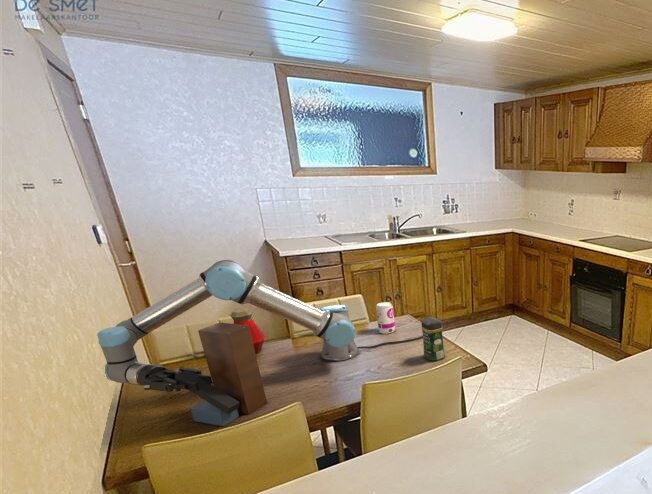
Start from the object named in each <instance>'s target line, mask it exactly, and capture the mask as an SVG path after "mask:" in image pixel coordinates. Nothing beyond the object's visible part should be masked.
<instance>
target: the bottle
mask: <svg viewBox="0 0 652 494" xmlns="http://www.w3.org/2000/svg"><path fill="white" fill-rule="evenodd" d="M252 315H253V311H252V310H250V309H248V308H246V307H243V308H242V307H241V308H240V307H239V308H235V309H234V310H233V311H232V312H231V313H230V315H229V316H230V317H231V319H232V321H233V323H232V324H239V325H248V326H249V329H250V333H251V337H252V341H253V346H254V350H255V354H258V353H260V352H261V350H262V348H263V344H264V341H265V338H266V335H265V334H264V333H263V331H262V330H261V329H260V328H259V326H258V324H256V322H255V321H254V319H253V318H252Z"/></svg>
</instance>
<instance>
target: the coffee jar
mask: <svg viewBox="0 0 652 494" xmlns="http://www.w3.org/2000/svg"><path fill="white" fill-rule="evenodd" d="M421 332H422V336H423V338H422V342H423V355H424V357H425V358H426V359H427V360H428V361H431V362H432V361H441V360H442V359H444V358H445V348H444V336H443V321H442V320H440V319H439V318H436V317H433V316H427V317H423V318H422V320H421Z"/></svg>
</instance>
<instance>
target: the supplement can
mask: <svg viewBox="0 0 652 494" xmlns="http://www.w3.org/2000/svg"><path fill="white" fill-rule="evenodd" d="M375 309H376V311H375V312H376V319H377V326H378V328H377V329H378V332H379V333H380V334H383V335H388V334H393V333H394V332H395V331H396V324H395V323H396V322H395V314H394V306H393V304H392V302H389V301H383V302H382V301H381V302H379V303H377V304H376V306H375Z"/></svg>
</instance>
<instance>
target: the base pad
mask: <svg viewBox="0 0 652 494" xmlns="http://www.w3.org/2000/svg"><path fill="white" fill-rule="evenodd" d="M190 411H191V415H192V417H193V421H194V422H198V423H202V424H203V423H204V424H207V425H208V424H209V425H215V426H221V427H224V426H226V425H228V424H230V423H231V422H233V421H235V420H236V419H237V418H239V417H240V415H239V414H240V413H238V410H237V409H236V410H235V411H233V412H231V413H229V414H226V413H224V412H223V411H221V410H220V409H218V408H216V407H215V406H213V405H212V404H210V403H208V402H207V401H205V400H203V401H201V402H200V403H197V404H196V405H193V406H192V407H190Z"/></svg>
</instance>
